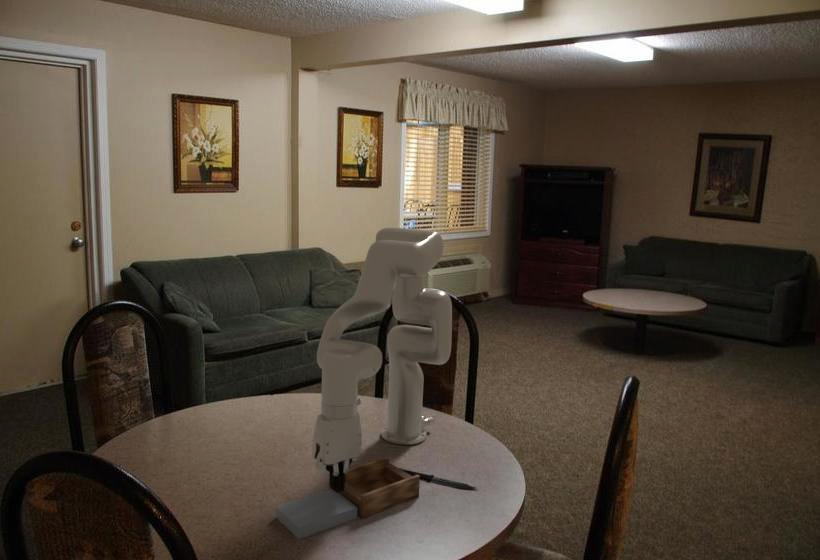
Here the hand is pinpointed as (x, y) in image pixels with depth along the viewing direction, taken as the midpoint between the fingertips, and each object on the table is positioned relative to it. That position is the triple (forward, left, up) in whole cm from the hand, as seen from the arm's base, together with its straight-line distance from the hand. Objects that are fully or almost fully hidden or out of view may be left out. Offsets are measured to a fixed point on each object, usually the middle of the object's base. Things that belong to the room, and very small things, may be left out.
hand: (336, 489), depth 139 cm
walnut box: (-11, 0, -5) cm, 12 cm away
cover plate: (+5, 0, -6) cm, 7 cm away
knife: (-27, +3, -6) cm, 28 cm away
